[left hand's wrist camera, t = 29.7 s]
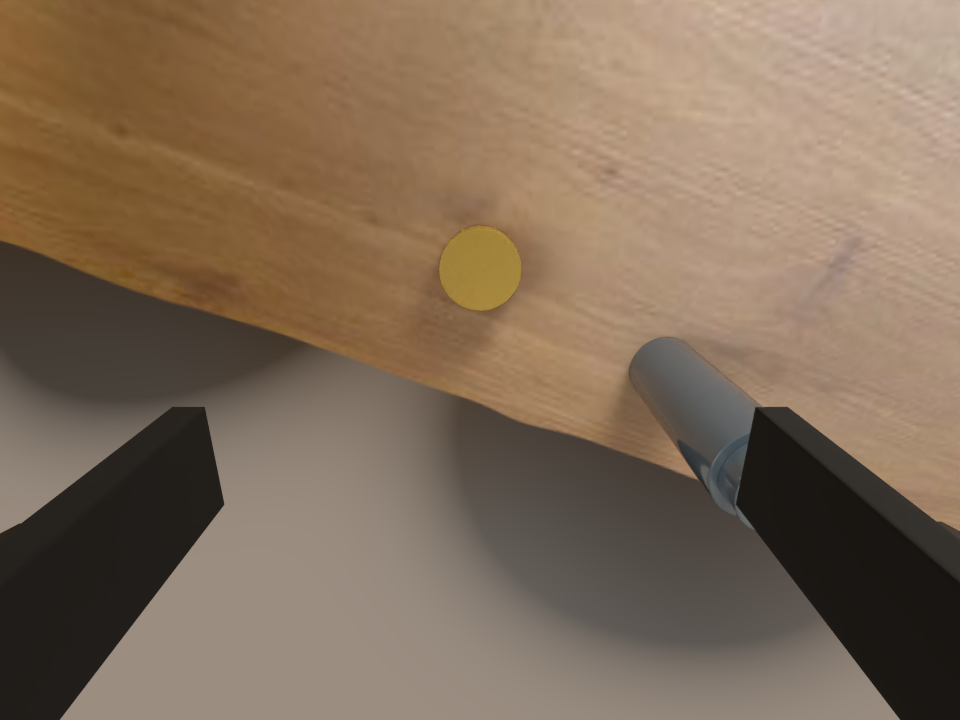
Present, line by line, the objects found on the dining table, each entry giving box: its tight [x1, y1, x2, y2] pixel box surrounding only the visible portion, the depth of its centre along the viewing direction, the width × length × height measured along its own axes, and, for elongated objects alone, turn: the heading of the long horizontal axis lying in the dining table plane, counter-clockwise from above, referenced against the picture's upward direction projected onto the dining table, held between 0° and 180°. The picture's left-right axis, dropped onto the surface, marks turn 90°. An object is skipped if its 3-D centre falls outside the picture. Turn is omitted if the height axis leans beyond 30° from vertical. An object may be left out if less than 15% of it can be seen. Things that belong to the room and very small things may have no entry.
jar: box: [630, 337, 763, 531], centre depth 34 cm, size 6×6×18 cm
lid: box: [439, 225, 522, 311], centre depth 38 cm, size 6×6×2 cm
